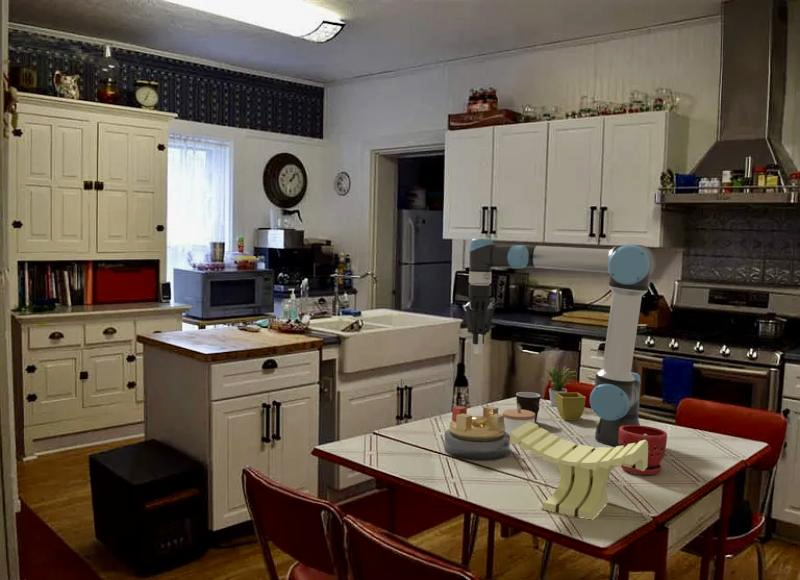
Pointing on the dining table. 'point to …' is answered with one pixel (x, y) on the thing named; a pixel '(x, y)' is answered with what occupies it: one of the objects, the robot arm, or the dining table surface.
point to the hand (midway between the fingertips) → (477, 353)
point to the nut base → (476, 448)
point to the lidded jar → (517, 418)
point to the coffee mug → (528, 402)
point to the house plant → (558, 383)
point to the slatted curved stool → (579, 468)
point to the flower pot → (570, 405)
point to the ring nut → (477, 425)
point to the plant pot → (653, 438)
